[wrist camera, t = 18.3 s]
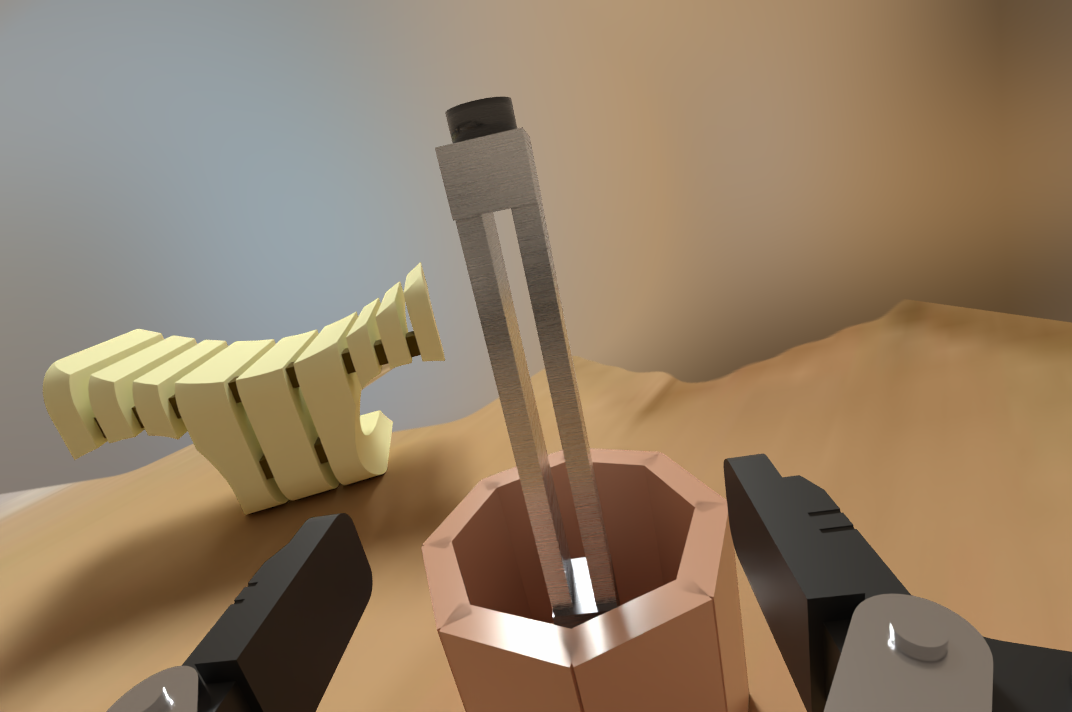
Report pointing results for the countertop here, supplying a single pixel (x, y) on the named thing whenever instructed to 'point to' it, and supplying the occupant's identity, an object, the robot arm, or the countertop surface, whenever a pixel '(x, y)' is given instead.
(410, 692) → the countertop surface
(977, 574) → the countertop surface
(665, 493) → the utensil crock
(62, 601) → the countertop surface
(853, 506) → the countertop surface
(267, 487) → the slatted curved stool
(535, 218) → the tongs
